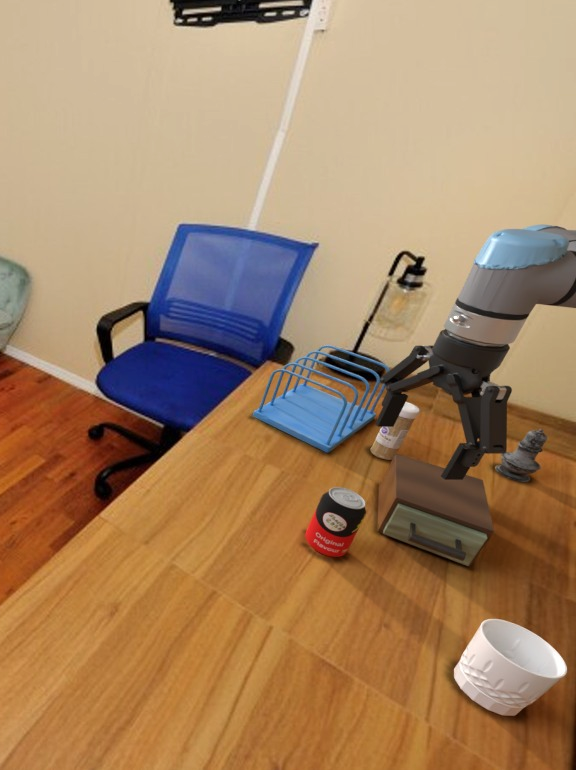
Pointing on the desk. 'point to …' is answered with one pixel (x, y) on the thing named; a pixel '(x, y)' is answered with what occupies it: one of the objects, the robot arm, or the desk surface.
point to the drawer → (435, 534)
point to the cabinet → (433, 495)
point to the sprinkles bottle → (394, 433)
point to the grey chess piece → (523, 457)
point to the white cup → (507, 667)
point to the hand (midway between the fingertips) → (415, 450)
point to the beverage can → (336, 521)
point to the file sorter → (318, 405)
